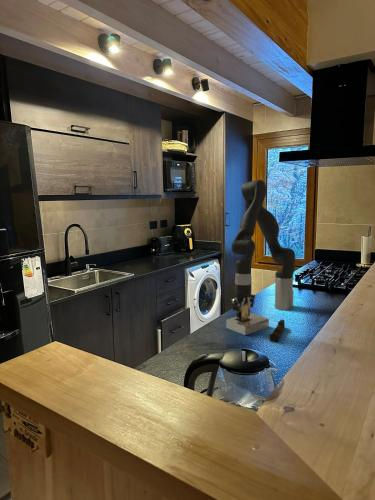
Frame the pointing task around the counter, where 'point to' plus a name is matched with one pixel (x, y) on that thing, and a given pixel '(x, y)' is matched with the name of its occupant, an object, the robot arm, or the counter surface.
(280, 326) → the hand tool
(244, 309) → the bushing
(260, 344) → the counter surface
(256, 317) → the block
